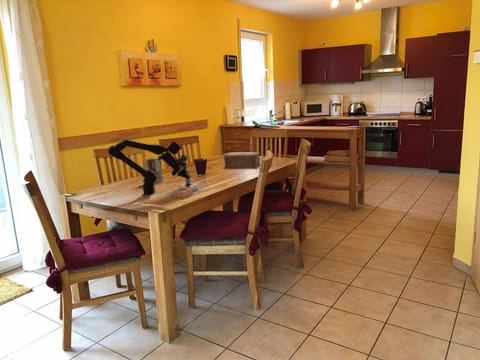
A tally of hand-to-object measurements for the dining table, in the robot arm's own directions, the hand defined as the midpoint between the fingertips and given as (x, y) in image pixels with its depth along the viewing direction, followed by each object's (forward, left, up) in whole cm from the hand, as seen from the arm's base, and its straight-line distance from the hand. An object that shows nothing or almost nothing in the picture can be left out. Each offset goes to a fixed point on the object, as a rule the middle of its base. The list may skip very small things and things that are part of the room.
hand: (190, 177), depth 233 cm
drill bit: (-1, +1, -7) cm, 7 cm away
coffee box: (+15, +42, -9) cm, 46 cm away
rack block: (-12, -3, -8) cm, 14 cm away
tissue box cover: (+86, +12, -9) cm, 88 cm away
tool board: (-7, -1, -9) cm, 11 cm away
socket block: (-1, +1, -8) cm, 8 cm away
